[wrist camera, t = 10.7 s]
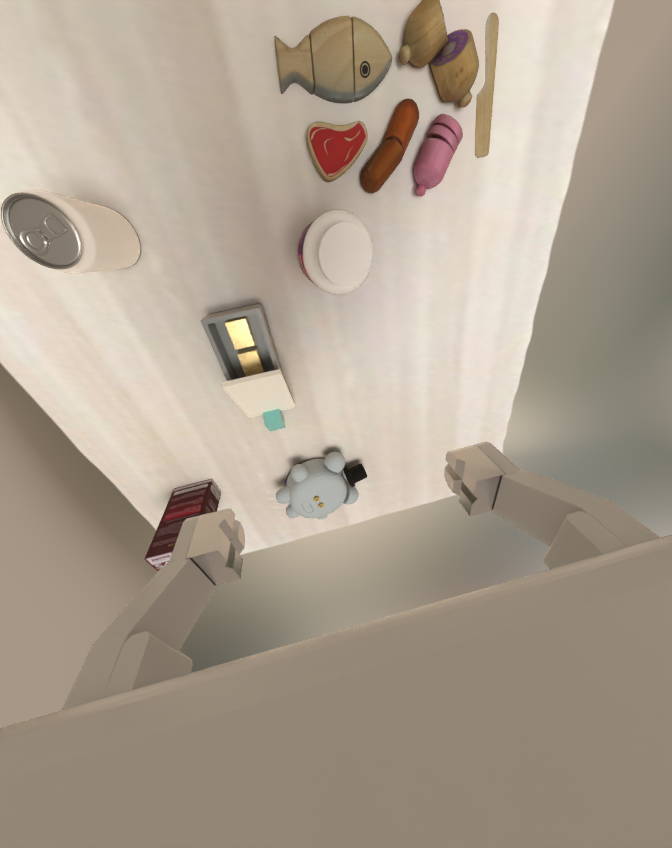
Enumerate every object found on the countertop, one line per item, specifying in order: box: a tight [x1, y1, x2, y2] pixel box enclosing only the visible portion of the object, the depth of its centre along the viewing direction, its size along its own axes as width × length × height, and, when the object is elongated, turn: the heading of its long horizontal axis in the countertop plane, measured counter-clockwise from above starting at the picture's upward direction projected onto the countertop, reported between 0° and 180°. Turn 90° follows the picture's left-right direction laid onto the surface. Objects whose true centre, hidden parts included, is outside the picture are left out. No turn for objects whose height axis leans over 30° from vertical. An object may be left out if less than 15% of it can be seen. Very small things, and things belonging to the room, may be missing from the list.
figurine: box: [276, 452, 367, 519], centre depth 59 cm, size 17×8×20 cm
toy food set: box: [275, 0, 499, 197], centre depth 31 cm, size 26×16×4 cm, turn 103°
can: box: [1, 190, 140, 273], centre depth 29 cm, size 6×6×12 cm
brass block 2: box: [237, 346, 265, 377], centre depth 43 cm, size 4×3×2 cm
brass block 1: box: [225, 316, 256, 350], centre depth 41 cm, size 4×3×2 cm
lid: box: [221, 369, 295, 431], centre depth 45 cm, size 14×9×4 cm
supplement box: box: [145, 479, 221, 571], centre depth 52 cm, size 9×5×16 cm, turn 100°
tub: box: [201, 303, 282, 381], centre depth 42 cm, size 11×8×4 cm
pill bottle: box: [297, 210, 373, 295], centre depth 33 cm, size 8×8×14 cm
